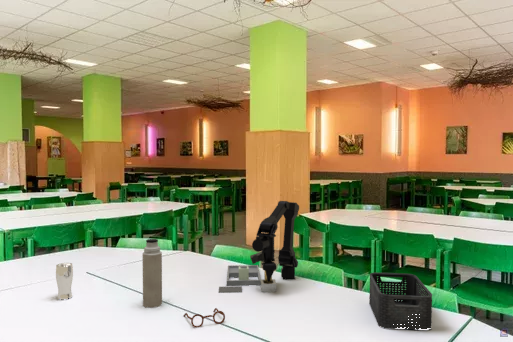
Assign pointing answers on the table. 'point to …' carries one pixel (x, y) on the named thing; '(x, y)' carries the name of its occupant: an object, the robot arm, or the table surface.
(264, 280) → the rod
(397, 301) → the storage bin
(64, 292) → the beer glass
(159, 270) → the thermos bottle
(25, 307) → the table surface
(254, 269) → the case
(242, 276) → the module
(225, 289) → the mat
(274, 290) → the grey square socket block
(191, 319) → the glasses
